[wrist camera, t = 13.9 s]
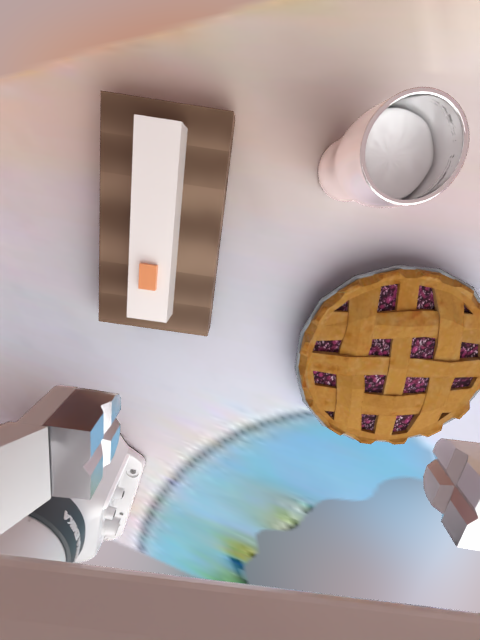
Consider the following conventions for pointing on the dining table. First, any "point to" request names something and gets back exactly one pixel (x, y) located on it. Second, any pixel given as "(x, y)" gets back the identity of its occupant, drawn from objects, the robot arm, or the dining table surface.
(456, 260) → the dining table surface
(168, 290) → the power strip
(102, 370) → the dining table surface
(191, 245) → the socket board
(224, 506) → the dining table surface
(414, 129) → the beer glass
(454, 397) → the pie
